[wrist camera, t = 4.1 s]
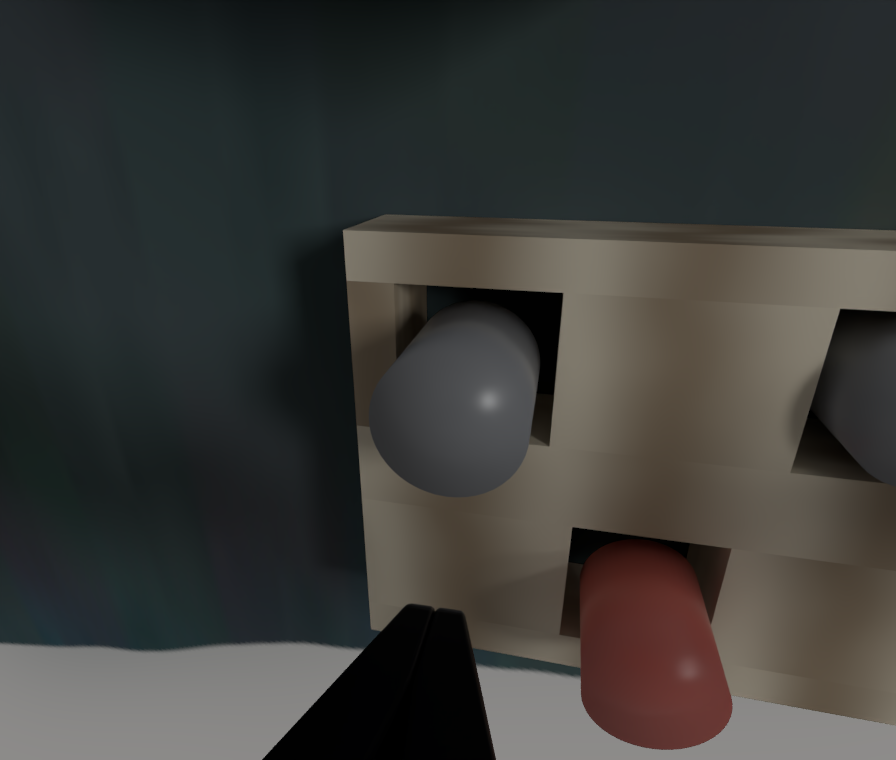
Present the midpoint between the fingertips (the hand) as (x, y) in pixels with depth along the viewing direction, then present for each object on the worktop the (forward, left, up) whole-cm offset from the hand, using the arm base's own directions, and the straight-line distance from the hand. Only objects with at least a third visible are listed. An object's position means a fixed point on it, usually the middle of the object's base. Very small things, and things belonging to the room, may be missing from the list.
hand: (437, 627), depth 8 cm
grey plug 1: (+1, 0, -10) cm, 10 cm away
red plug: (-5, +8, -10) cm, 14 cm away
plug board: (-5, +4, -14) cm, 15 cm away
